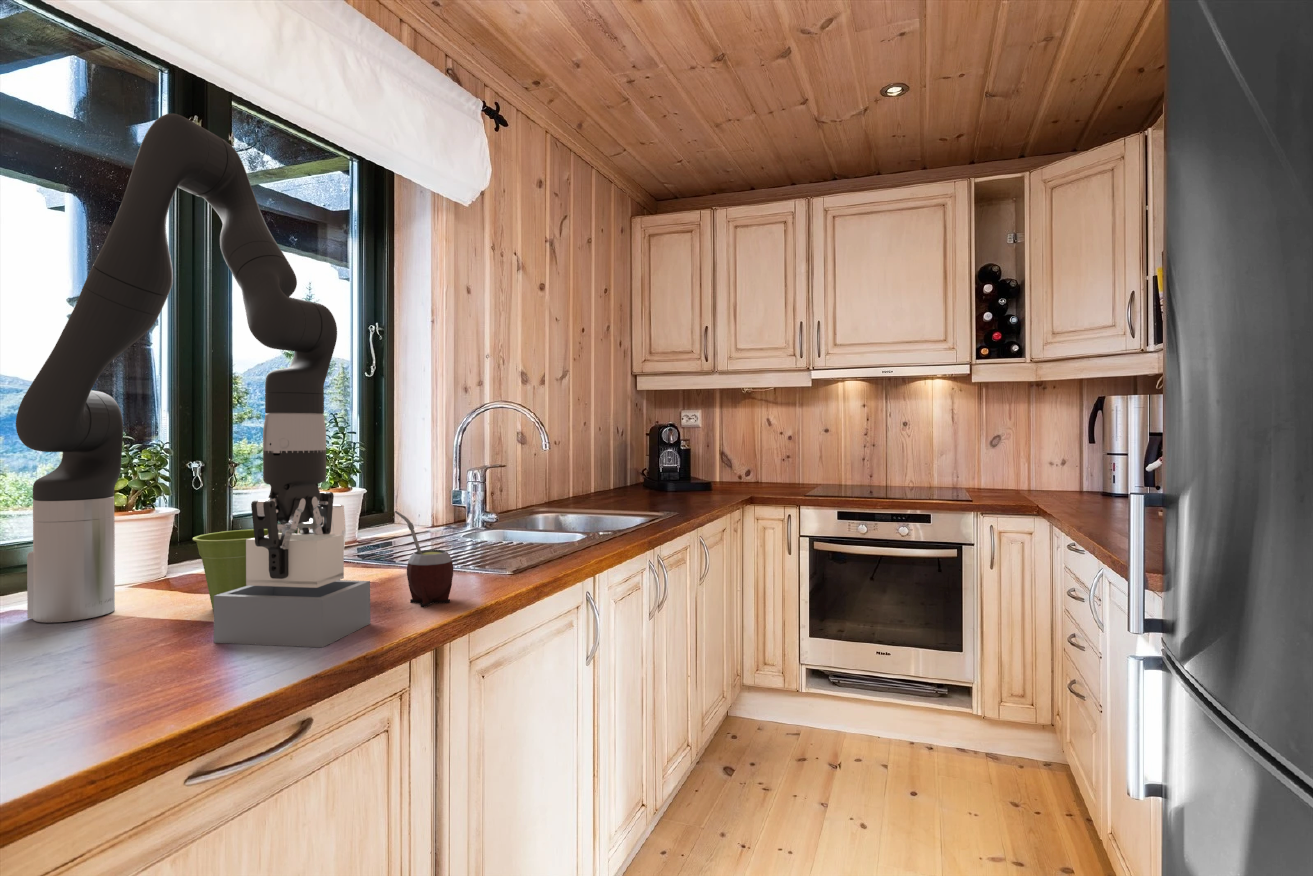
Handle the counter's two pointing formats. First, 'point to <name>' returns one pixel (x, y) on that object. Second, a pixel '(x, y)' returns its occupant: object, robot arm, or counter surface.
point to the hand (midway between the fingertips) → (295, 572)
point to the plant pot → (224, 559)
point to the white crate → (299, 561)
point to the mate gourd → (428, 573)
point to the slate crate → (291, 614)
